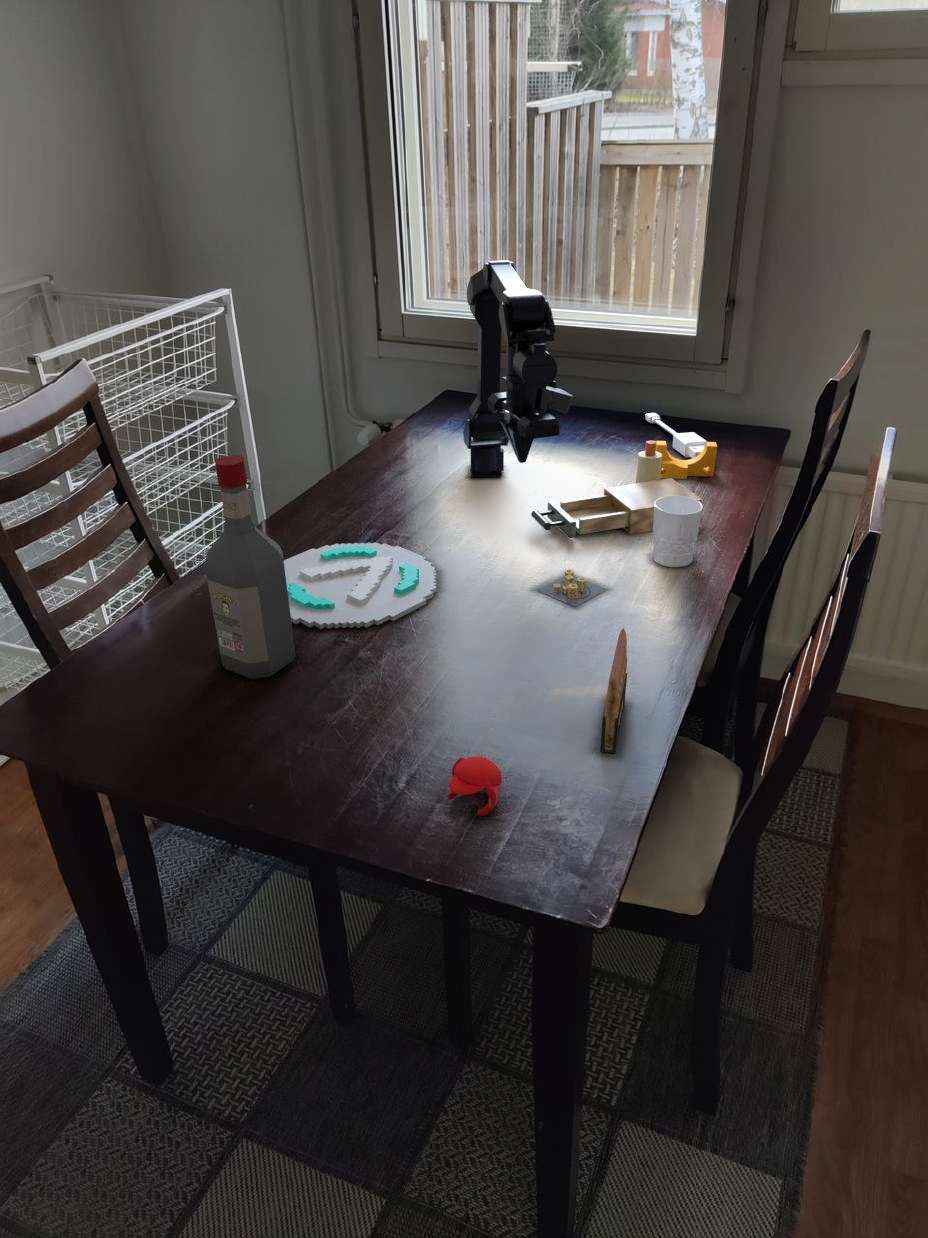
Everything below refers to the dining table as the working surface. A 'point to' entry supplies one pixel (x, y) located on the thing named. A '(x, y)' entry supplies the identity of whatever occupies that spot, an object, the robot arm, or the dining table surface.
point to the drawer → (584, 515)
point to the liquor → (247, 585)
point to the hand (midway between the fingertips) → (522, 462)
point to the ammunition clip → (615, 697)
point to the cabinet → (645, 500)
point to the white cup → (675, 530)
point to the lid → (357, 584)
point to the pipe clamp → (687, 462)
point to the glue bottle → (649, 463)
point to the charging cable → (681, 438)
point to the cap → (476, 780)
